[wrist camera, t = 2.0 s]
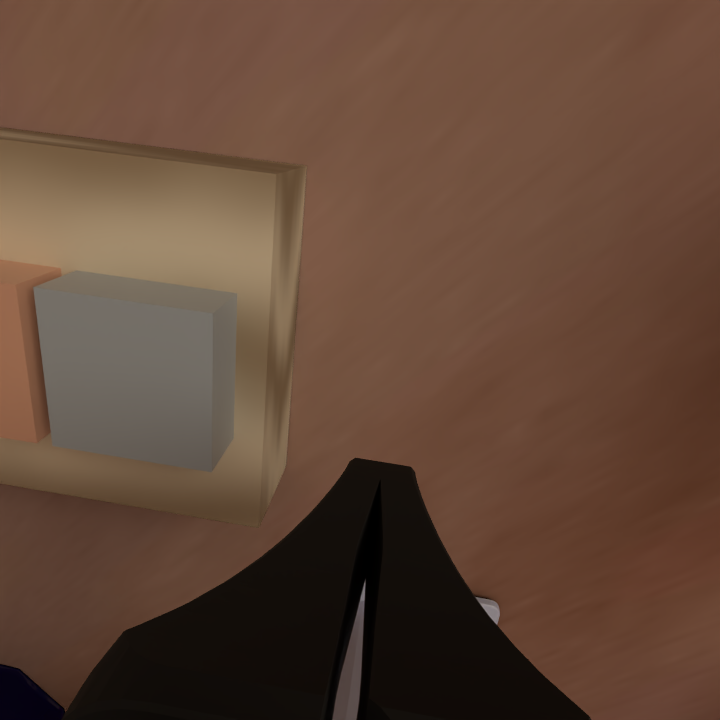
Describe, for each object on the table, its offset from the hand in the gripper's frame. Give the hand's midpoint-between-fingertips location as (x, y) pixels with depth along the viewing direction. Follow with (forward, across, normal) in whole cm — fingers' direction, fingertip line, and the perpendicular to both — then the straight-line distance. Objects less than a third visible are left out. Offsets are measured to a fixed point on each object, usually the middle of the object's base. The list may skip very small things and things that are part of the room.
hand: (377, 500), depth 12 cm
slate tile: (+5, +8, 0) cm, 9 cm away
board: (+9, +11, 0) cm, 14 cm away
